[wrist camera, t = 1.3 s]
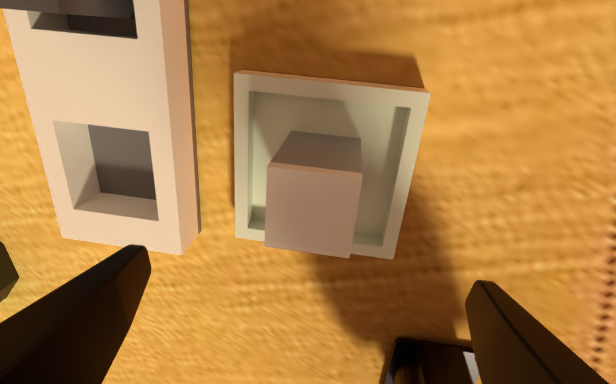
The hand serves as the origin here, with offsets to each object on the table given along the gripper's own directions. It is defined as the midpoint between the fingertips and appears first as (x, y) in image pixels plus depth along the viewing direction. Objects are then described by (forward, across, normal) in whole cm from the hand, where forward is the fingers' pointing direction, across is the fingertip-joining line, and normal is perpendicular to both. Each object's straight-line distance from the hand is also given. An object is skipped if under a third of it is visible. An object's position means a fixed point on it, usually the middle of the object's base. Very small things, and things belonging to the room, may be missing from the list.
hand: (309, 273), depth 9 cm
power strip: (+13, +12, -1) cm, 18 cm away
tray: (+12, 0, +3) cm, 12 cm away
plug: (+11, 0, +3) cm, 12 cm away
